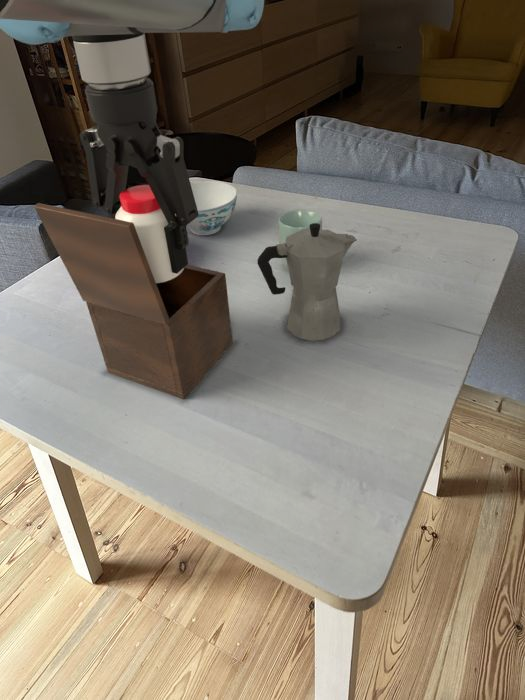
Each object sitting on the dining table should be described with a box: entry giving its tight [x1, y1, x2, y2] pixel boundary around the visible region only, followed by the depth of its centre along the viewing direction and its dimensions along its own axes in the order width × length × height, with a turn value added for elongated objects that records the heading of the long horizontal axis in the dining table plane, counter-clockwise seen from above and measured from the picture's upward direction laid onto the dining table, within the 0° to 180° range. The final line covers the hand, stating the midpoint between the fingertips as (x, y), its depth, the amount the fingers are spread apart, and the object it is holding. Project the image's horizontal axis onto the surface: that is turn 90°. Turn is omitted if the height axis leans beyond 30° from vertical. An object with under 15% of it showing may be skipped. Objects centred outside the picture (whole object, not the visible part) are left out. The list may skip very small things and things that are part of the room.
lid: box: [33, 202, 170, 325], centre depth 65 cm, size 15×14×1 cm
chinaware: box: [186, 180, 238, 236], centre depth 115 cm, size 15×15×8 cm
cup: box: [277, 208, 323, 269], centre depth 100 cm, size 8×8×10 cm
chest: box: [85, 264, 234, 400], centre depth 79 cm, size 14×14×13 cm
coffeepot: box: [257, 223, 357, 342], centre depth 82 cm, size 15×9×18 cm, turn 106°
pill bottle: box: [115, 184, 184, 283], centre depth 71 cm, size 8×8×11 cm
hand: (154, 262), depth 73 cm, fingers closed on pill bottle, 8 cm apart
